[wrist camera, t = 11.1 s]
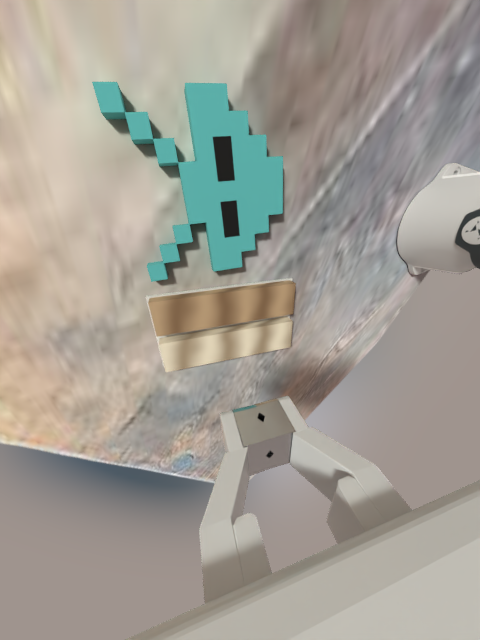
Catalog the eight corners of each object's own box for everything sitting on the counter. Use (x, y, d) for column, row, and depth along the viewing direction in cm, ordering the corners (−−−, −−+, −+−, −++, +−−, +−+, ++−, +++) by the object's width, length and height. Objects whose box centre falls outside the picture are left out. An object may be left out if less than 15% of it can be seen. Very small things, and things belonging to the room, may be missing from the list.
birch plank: (287, 316, 40) (292, 321, 38) (285, 341, 42) (290, 347, 41) (159, 338, 35) (158, 344, 33) (166, 365, 37) (165, 372, 36)
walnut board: (289, 280, 37) (295, 283, 35) (287, 313, 40) (292, 317, 38) (149, 298, 32) (148, 302, 30) (158, 334, 35) (157, 340, 33)
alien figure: (152, 277, 32) (277, 257, 36) (151, 281, 30) (282, 260, 34) (99, 93, 22) (275, 93, 26) (92, 81, 21) (282, 84, 24)
